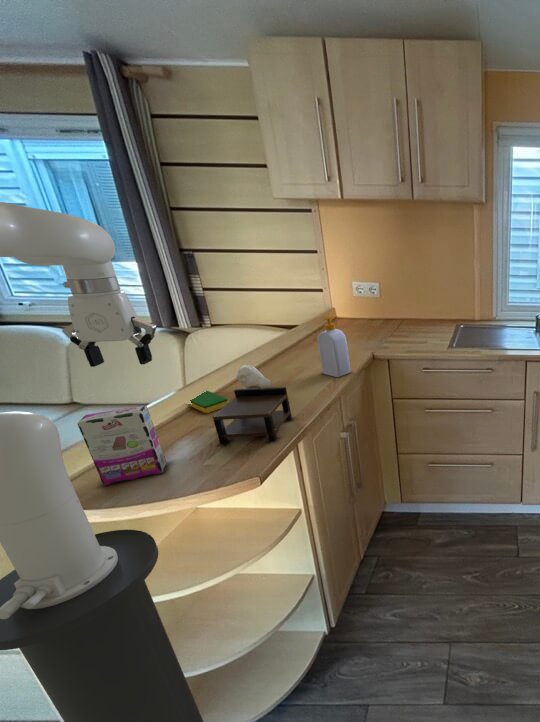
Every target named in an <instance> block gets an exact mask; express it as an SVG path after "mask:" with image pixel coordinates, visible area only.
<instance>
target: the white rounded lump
mask: <svg viewBox="0 0 540 722" xmlns="http://www.w3.org/2000/svg"><path fill="white" fill-rule="evenodd" d="M236 379H237V381H238V382H239V383H240V385H241V386H242V389H249V388H250V387H258V388H271V387H272V381H271V380H270V379H269V378H266V377H265V375H263V374H262V373H261V372H260V370H258V368H256V367H254V366H253V365H250V364H244V365H242V366H241V367H239V368H238V370H237V373H236Z"/></svg>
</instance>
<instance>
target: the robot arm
mask: <svg viewBox="0 0 540 722" xmlns="http://www.w3.org/2000/svg"><path fill="white" fill-rule="evenodd" d="M115 254H116V245H115V242H114V240H113V238H112V236H111V235H110V234H109V233H108V231H106V229H105V228H103V227H102V226H100V225H99V224H98V223H95V222H93V221H90V220H88V219H86V218H82V217H79V216H76V215H72V214H68V213H64V212H59V211H53V210H49V209H48V210H47V209H42V208H35V207H31V206H26V205H25V206H24V205H21V204H15V203H12V202H11V203H10V202H4V201H0V258H14V259H16V260H17V261H19V262H21V263H23V264H26V265H31V266H40V267H53V266H61V269H62V271H63V273H64V276H65V279H66V281H63V283H62V284H63V287H64V288H65V289H69V290H70V292H71V294H67V305H68V312H69V316H70V320H71V324H69V325H68V326H66V327H64V328H62V329H61V332H62V333H63V334H64V335H65V336H66V338H68V339H69V340H70V342H71V343H73V344H75V345H76V346H78V348H79V349H80V350H83V352H84V355H85V357H86V360H87V362H88V364H89V366H90V368H95V367H97V366H99V365H102V364H104V363H105V359H104V356H103V354H102V352H101V348H100V347H99V345H96V343H98V342H99V343H100V342H123V341H127V340H128V341H130V343H132V344H134V345H135V346H136V347H135V348H134V351H135V353H136V356H137V360H138V363H139V364H140V365H146V364H148V363H150V362H152V361H153V355H152V352H151V349H150V344H151V343H152V342H151V341H153V339H154V338H155V334H156V332H157V331H156V330H157V325H155V324H153V323H150V322H147V321H145V320H143V319H139V317H138V315H137V312H136V310H135V308H134V306H133V304H132V302H131V300H130V298H129V297H128V295H127V293H126V291H122V289H121V285H120V282H119V281H118V276H117V275H116V271H115V268H114V265H113V263H112V260H113V258H114V256H115ZM142 329H143V330H144V331H145V332H144V334H143V331H142ZM85 512H86V511H85V510H84V508H83V506H82V503H81V501H80V499H79V496H78V494H77V493H76V489H75V488H74V485H73V483H72V481H71V478H70V477H69V474H68V471H67V468H66V466H65V462H64V457H63V452H62V444H61V437H60V432H59V430H58V427H57V425H56V424H55V423H54V421H53V420H52V419H50V418H49V417H46V416H45V415H42V414H39V413H35V412H28V411H4V412H2V411H1V412H0V545H1V547H2V549H3V550H4V552H5V554H6V556H7V558H8V560H9V561H10V563H11V565H12V567H13V568H14V570H16V572H17V574H18V575H19V577H20V579H19V580H18V581H16V582H15V583H14V585H15V587H16V591H15V592H14V594H13V598H11V599H10V600H9V601H7V602H6V603H5V604H4V605H3V606H1V607H0V619H7V618H9V617H10V616H11V615H12V614H13V613H15V612H16V611H17V610H18V609H19V608H20V607H21V608H25V609H39V608H45V607H49V606H53V605H56V604H59V603H62V602H65V601H67V600H70V599H72V598H74V597H76V596H78V595H80V594H82V593H84V592H86V591H87V590H89V589H91V588H92V587H94V586H95V585H97V584H98V583H99V582H101V581H102V580H103V579H104V578H105V577H107V576H108V575H109V573H110V572H111V571H112V570H113V569H114V567H115V566H116V564H117V561H118V556H117V553H116V551H115V550H114V549H113V548H111V547H106V546H100V545H99V543H98V541H97V539H96V537H95V534H96V533H94V531H93V528H92V526H91V524H90V521H89V518H88V517H87V515H86V513H85Z"/></svg>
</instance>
